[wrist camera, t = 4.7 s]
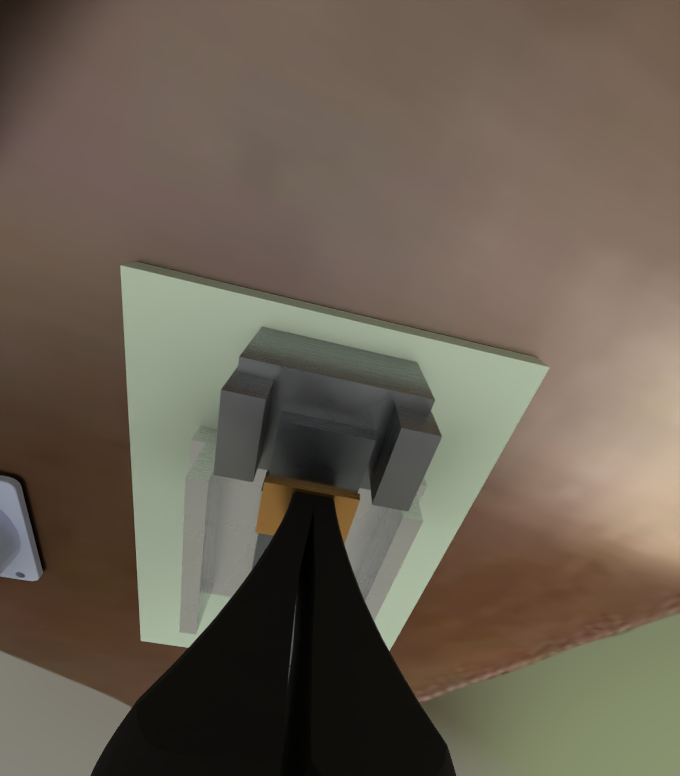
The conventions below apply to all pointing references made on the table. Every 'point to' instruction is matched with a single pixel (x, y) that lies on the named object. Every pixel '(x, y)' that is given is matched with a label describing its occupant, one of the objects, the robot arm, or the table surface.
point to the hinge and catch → (328, 409)
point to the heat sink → (238, 537)
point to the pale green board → (201, 408)
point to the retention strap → (313, 472)
